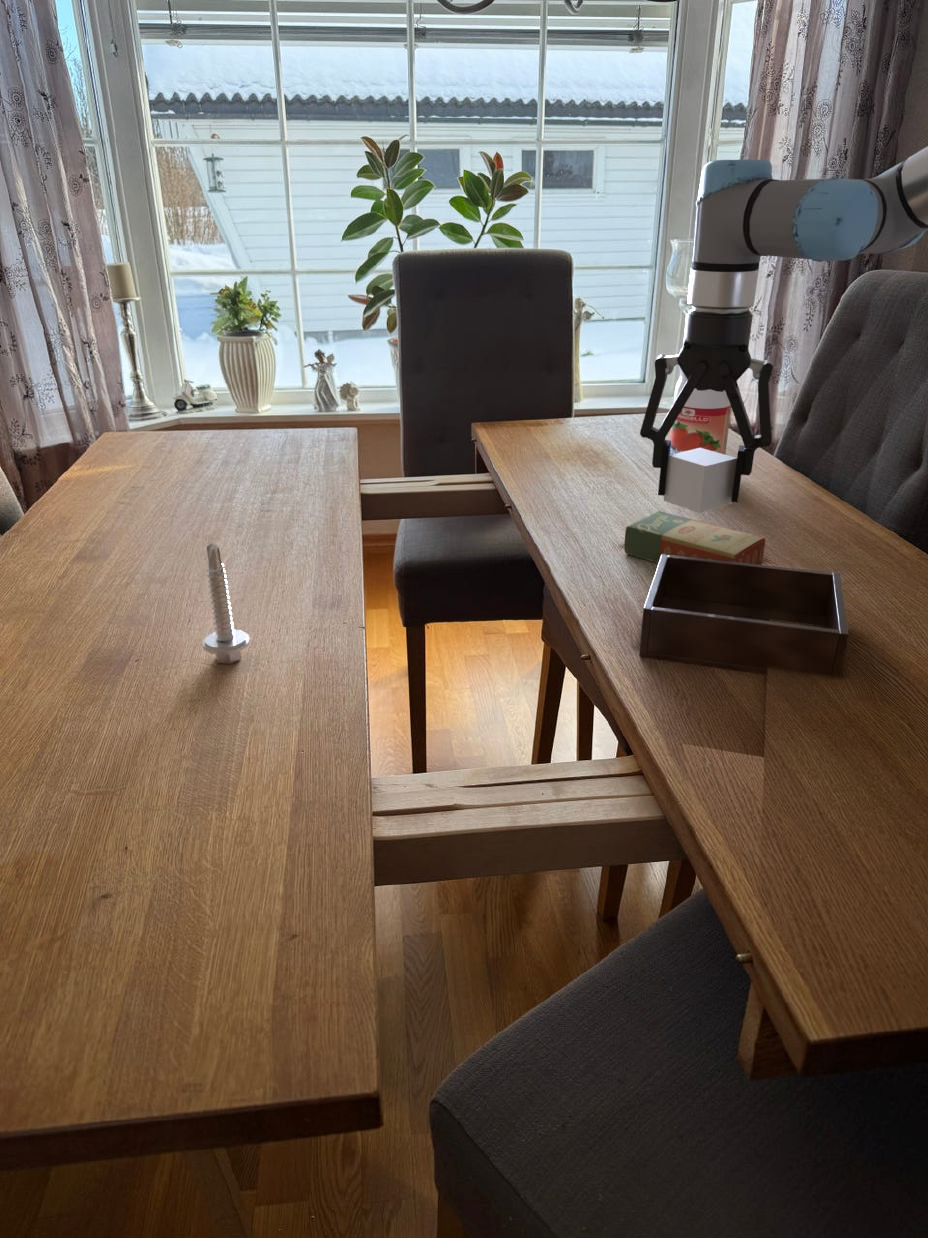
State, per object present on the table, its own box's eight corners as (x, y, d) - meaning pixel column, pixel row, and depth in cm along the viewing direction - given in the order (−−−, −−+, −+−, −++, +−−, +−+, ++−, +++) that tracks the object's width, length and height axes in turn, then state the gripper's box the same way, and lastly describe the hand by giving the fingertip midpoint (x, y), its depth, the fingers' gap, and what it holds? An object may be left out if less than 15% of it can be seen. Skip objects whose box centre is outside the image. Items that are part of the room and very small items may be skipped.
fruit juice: (733, 473, 151) (756, 300, 139) (702, 484, 146) (723, 305, 133) (687, 462, 158) (705, 295, 145) (655, 472, 152) (671, 300, 140)
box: (831, 618, 101) (840, 573, 98) (838, 684, 87) (848, 634, 85) (657, 597, 106) (661, 553, 104) (639, 656, 93) (643, 608, 90)
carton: (730, 586, 109) (735, 554, 107) (621, 553, 119) (624, 523, 117) (762, 566, 114) (767, 535, 112) (655, 536, 124) (658, 507, 122)
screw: (242, 670, 91) (197, 668, 91) (258, 648, 95) (215, 646, 96) (226, 553, 85) (178, 551, 86) (244, 535, 89) (198, 533, 90)
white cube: (699, 513, 109) (705, 466, 107) (663, 500, 114) (667, 455, 111) (731, 503, 113) (737, 457, 110) (695, 491, 117) (700, 447, 114)
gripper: (815, 307, 103) (785, 494, 113) (633, 301, 109) (619, 479, 119) (817, 316, 97) (785, 513, 107) (623, 309, 103) (610, 496, 113)
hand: (698, 495), depth 113 cm, fingers closed on white cube, 8 cm apart
